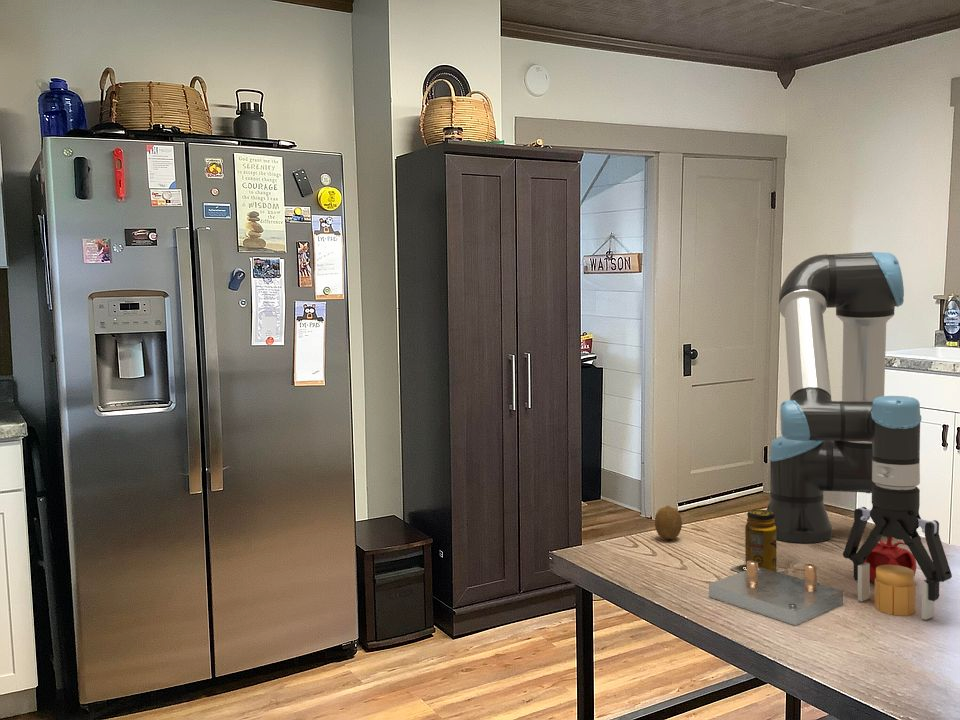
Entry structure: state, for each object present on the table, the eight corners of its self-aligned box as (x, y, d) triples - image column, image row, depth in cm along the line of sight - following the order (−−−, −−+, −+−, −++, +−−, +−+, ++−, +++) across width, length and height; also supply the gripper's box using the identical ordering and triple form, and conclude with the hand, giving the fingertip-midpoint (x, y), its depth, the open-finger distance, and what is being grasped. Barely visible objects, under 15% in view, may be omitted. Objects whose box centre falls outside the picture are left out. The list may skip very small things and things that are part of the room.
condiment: (786, 570, 167) (785, 512, 166) (759, 579, 162) (758, 520, 161) (756, 561, 173) (755, 505, 172) (729, 570, 168) (728, 512, 167)
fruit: (684, 543, 187) (684, 509, 186) (657, 543, 187) (656, 509, 187) (679, 535, 193) (678, 502, 193) (652, 535, 193) (652, 502, 193)
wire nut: (886, 600, 149) (886, 562, 149) (920, 609, 144) (920, 570, 144) (869, 608, 146) (869, 569, 145) (903, 618, 141) (903, 578, 140)
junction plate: (757, 578, 162) (756, 544, 162) (843, 604, 148) (843, 566, 148) (708, 596, 154) (708, 560, 153) (795, 625, 139) (795, 585, 139)
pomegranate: (856, 571, 165) (855, 526, 165) (911, 574, 162) (910, 528, 162) (862, 587, 156) (862, 539, 155) (921, 591, 153) (920, 542, 152)
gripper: (822, 478, 150) (822, 595, 152) (955, 500, 132) (954, 633, 133) (844, 472, 155) (843, 586, 156) (976, 492, 136) (974, 621, 138)
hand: (894, 608), depth 145 cm, fingers open, 11 cm apart
